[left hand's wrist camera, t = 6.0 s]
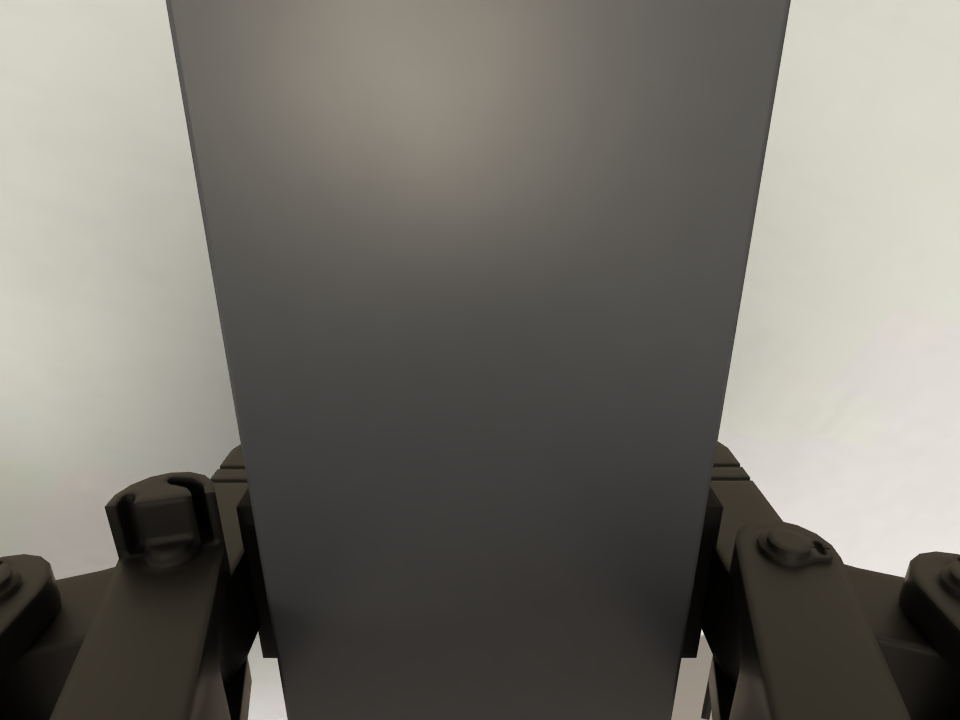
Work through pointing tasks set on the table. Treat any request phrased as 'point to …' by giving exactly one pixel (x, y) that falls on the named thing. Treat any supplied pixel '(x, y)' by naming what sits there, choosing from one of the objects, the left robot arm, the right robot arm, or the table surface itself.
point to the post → (478, 331)
